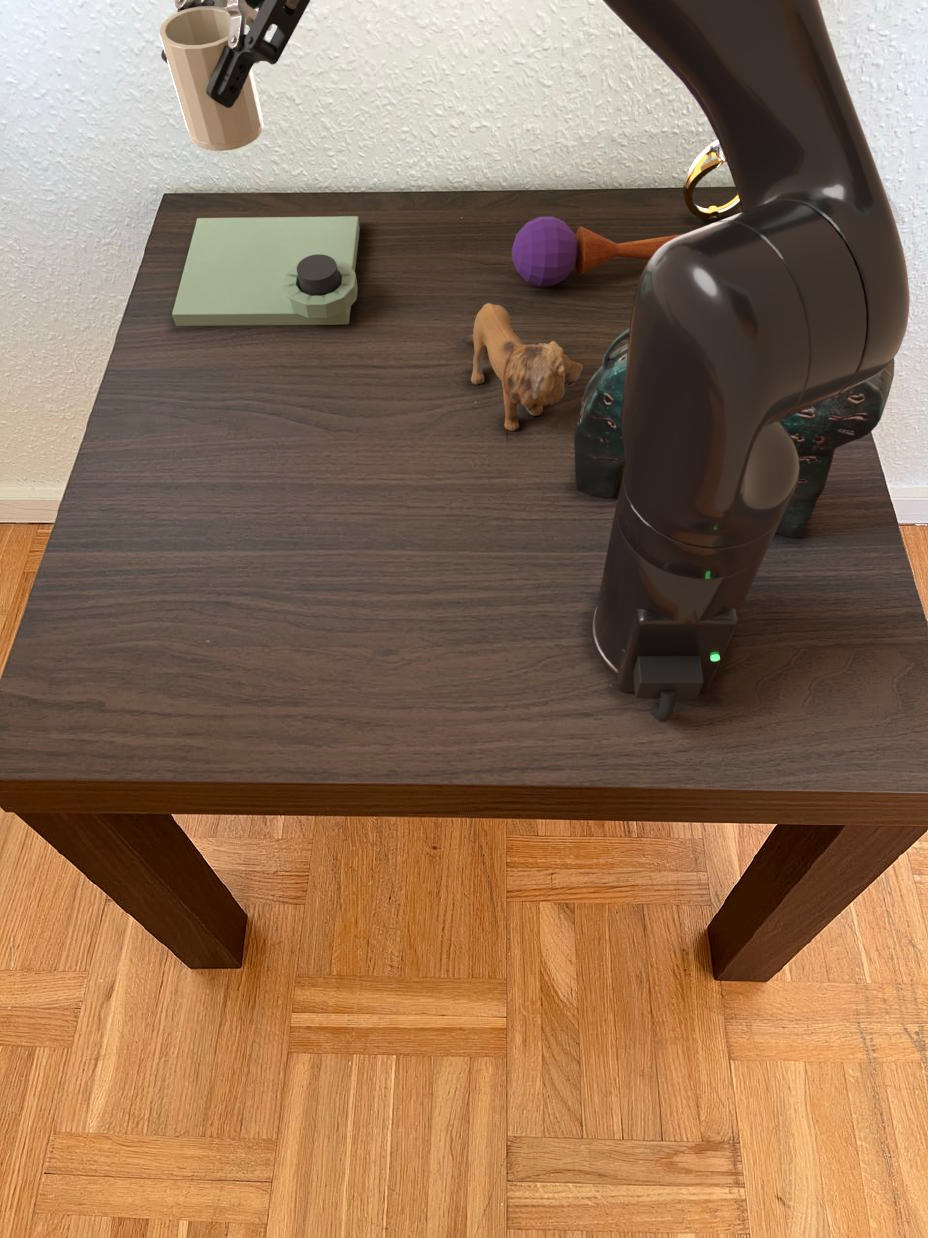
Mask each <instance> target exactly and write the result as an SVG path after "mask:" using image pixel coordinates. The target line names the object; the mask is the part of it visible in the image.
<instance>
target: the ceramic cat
mask: <svg viewBox="0 0 928 1238" xmlns="http://www.w3.org/2000/svg"><path fill="white" fill-rule="evenodd" d="M629 330H630V327H629V328H627V329H625V330H624V331H623V332H622V333H620V334H619V335H618V336H617V337H616V338H615V339H614V340H613V341H612V343H611V344H610V345H609V346H608V348H607V350H606V352H605V353H604V355H603V357H602V361H601V363H602V364H601V366H600V367H599V368H598V369H597V371H596V372H595V373H594V374H593V375H592V377H591V378H590V380H589V382H588V383H587V385H586V387H585V389H584V392H583V395H582V399H581V407H580V413H579V417H578V421H577V424H576V427H575V430H574V436H573V437H574V438H573V449H574V465H575V466H574V471H575V472H574V473H575V488H576V490H577V492H581V493H584V494H586V495H590V496H593V497H599V498H604V499H607V498H615V495H616V491H617V487H618V484H619V480H620V477H621V473H622V470H624V464H625V452H624V445H623V437H622V427H621V409H622V400H623V391H624V382H625V372H626V363H627V352H628V342H626V343H625V344H623V345H621V346H619V347H617V346H618V345H619V344H621V343H622V342H623V341H624V340H627V339H629ZM616 347H617V348H616ZM615 348H616V349H615ZM894 377H895V357H894V358H893V359H892V361H891V362H890V364H889V365H888V366H887V367H886V368H885V369H884V370H883V371H881V372H880V373H879V374H877V375H876V376H874V377H873V378H871V379H869V380H868V381H866V382H864V383H862V384H860V385H858V386H856V387H854V388H852V389H849V390H847V391H845V392H843V393H841V394H838V395H836V396H833V397H831V398H829V399H827V400H825V401H823V402H821V403H818V404H816V405H814V406H811V407H809V408H807V409H805V410H802V411H800V412H798V413H796V414H793V415H791V416H789V417H787V418H784V419H782V420H780V423H781V424H782V425H783V426H784V427H785V428H786V429H787V431H788V432H789V434H790V435H791V437H792V439H793V441H794V444H795V446H796V448H797V452H798V457H799V476H798V481H797V485H796V488H795V490H794V493H793V495H792V498H791V500H790V502H789V504H788V507H787V509H786V511H785V513H784V515H783V517H782V519H781V522H780V524H779V526H778V528H777V531H776V533H775V534H779V535H783V536H786V537H788V538H793V539H799V537H800V536H801V534H802V532H803V531H804V528H805V527H806V525H807V523H808V522H809V520H810V519H811V516H812V513H813V511H814V509H815V507H816V504H817V501H818V500H819V498H820V496H821V495H822V493H823V492H824V490H825V488H826V484H827V480H828V476H829V474H830V469H831V467H832V463H833V460H834V457H835V456H834V455H835V451H836V449H837V448H840V447H843V446H844V445H846V444H849V443H851V442H854V441H858V440H860V439H863V438H864V437H865V436H867V435H870V433H871V432H872V431H873V430H874V429H876V428H877V426H878V424H879V423H880V421H881V419H882V417H883V414H884V410H885V408H886V404H887V402H888V398H889V396H890V392H891V388H892V384H893V380H894Z"/></svg>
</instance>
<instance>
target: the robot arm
mask: <svg viewBox="0 0 928 1238" xmlns="http://www.w3.org/2000/svg"><path fill="white" fill-rule="evenodd" d="M600 1H601V2H602V3H603V4H604V6H605V7H606V8H607V9H608V10H609V11H610V12H611V13H612V14H613V15H614V16H615V17H616V18H617V19H618V20H619V22H621V23H622V24H623V25H624V26H625V27H626V28H627V29H628V30H629V31H630V32H631V33H632V34H633V35H634V36H635V37H636V38H638V39H639V40H640V41H641V42H642V43H643V44H644V46H646V47H647V48H648V49H649V50H650V51H651V52H652V53H653V54H655V56H656V57H657V58H659V59H660V61H662V63H664V64H665V66H666V67H667V68H668V69H669V70H670V71H671V72H672V74H673V75H675V77H677V79H678V80H679V81H680V82H681V83H682V84H683V85H684V86H685V88H686V89H687V90H688V92H689V93H690V94H691V96H692V97H693V98H694V100H695V101H696V102H697V104H698V105H699V107H700V109H701V110H702V112H703V114H704V115H705V117H706V118H707V120H708V122H709V125H710V127H711V129H712V131H713V133H714V135H715V137H716V140H718V141H719V144H720V146H721V149H722V151H723V154H724V156H725V159H726V161H727V162H726V164H727V167H728V169H729V172H730V175H731V178H732V181H733V183H734V187H735V189H736V193H737V195H738V197H739V200H740V203H741V206H740V207H741V211H742V212H739V213H736V214H734V215H731V216H729V217H726V218H723V219H720V220H718V221H717V220H716V221H715V222H712V223H709V224H707V225H704V226H702V227H699V228H696V229H693V230H691V231H689V232H686V233H682V234H683V235H681V236H678V237H676V238H674V239H672V240H670V241H668V242H667V243H665V244H663V245H662V246H661V247H660V248H659V249H658V250H657V251H656V252H655V253H654V254H653V255H652V257H651V258H650V260H648V261H647V263H646V265H645V266H644V269H643V271H642V272H641V275H640V278H639V281H638V284H637V286H636V290H635V294H634V298H633V302H632V307H631V313H630V323H629V328H630V330H629V337H628V341H627V343H628V352H627V363H626V372H625V382H624V391H623V400H622V409H621V427H622V437H623V445H624V452H625V464H624V468H623V469H622V475H621V480H620V485H619V491H618V496H617V501H616V505H615V511H614V516H613V520H612V526H611V531H610V536H609V541H608V547H607V552H606V557H605V562H604V568H603V574H602V578H601V583H600V587H599V593H598V599H597V605H596V608H595V610H594V613H593V618H592V623H591V638H592V644H593V647H594V651H595V652H596V655H597V657H598V658H599V660H600V662H601V663H602V665H603V666H604V667H605V668H606V669H607V670H608V671H609V672H610V673H611V674H612V676H614V677H615V678H616V681H617V688H618V691H619V692H622V693H634V696H635V697H634V698H635V699H636V700H637V699H639V700H640V699H641V700H643V699H644V700H645V699H646V700H647V699H648V700H649V699H650V700H651V699H655V700H659V702H655V703H653V704H652V705H650V708H649V712H650V715H652V717H653V718H654V720H656V721H657V722H659V723H666V722H668V721H669V720H671V718H672V717H673V714H674V710H675V705H676V699H679V700H684V699H685V700H693V699H694V700H696V699H697V698H698V696H699V694H700V693H707V692H708V690H709V688H710V686H711V684H712V682H713V679H714V678H715V675H716V673H717V670H718V668H719V667H720V665H721V662H722V660H723V657H724V655H725V653H726V651H727V649H728V646H729V644H730V642H731V640H732V638H733V636H734V634H735V631H736V629H737V626H738V623H739V618H738V617H739V614H740V612H741V610H742V608H743V605H744V604H745V601H746V598H747V596H748V594H749V593H750V591H751V590H750V589H751V588H752V585H753V583H754V581H755V579H756V577H757V575H758V572H759V570H760V567H761V566H762V563H763V561H764V559H765V557H766V554H767V552H768V550H769V548H770V545H771V543H772V541H773V539H774V537H775V535H776V534H777V533H776V531H777V528H778V526H779V524H780V522H781V519H782V517H783V515H784V513H785V511H786V509H787V507H788V504H789V502H790V500H791V498H792V495H793V493H794V490H795V488H796V485H797V481H798V476H799V457H798V452H797V448H796V446H795V444H794V441H793V439H792V437H791V435H790V434H789V432H788V431H787V429H786V428H785V427H784V426H783V425H782V424H781V423H780V420H782V419H784V418H787V417H789V416H791V415H793V414H796V413H798V412H800V411H802V410H805V409H807V408H809V407H811V406H814V405H816V404H818V403H821V402H823V401H825V400H827V399H829V398H831V397H833V396H836V395H838V394H841V393H843V392H845V391H847V390H849V389H852V388H854V387H856V386H858V385H860V384H862V383H864V382H866V381H868V380H869V379H871V378H873V377H874V376H876V375H877V374H879V373H880V372H881V371H883V370H884V369H885V368H886V367H887V366H888V365H889V364H890V362H891V361H892V359H893V358H894V359H895V357H896V355H897V354H898V352H899V350H900V349H901V346H902V344H903V341H904V338H905V336H906V332H907V329H908V321H909V315H910V314H909V313H910V303H911V302H910V299H911V298H910V284H909V275H908V274H909V273H908V267H907V263H906V257H905V252H904V248H903V243H902V240H901V237H900V233H899V229H898V225H897V222H896V219H895V217H894V213H893V210H892V207H891V204H890V201H889V198H888V196H887V193H886V190H885V187H884V184H883V181H882V179H881V176H880V173H879V171H878V168H877V165H876V162H875V159H874V156H873V154H872V151H871V148H870V145H869V143H868V140H867V137H866V134H865V132H864V130H863V127H862V124H861V120H860V118H859V115H858V113H857V109H856V107H855V105H854V102H853V99H852V97H851V94H850V91H849V89H848V86H847V83H846V80H845V77H844V74H843V71H842V69H841V66H840V63H839V60H838V57H837V54H836V51H835V48H834V45H833V42H832V39H831V36H830V34H829V30H828V27H827V24H826V20H825V17H824V14H823V10H822V7H821V3H820V0H600ZM310 2H311V0H203V1H202V0H174V5H175V6H174V7H175V8H176V9H177V12H180V11H182V10H185V9H189V8H194V7H198V6H199V7H200V6H217V7H222V8H227V10H228V13H229V14H230V17H231V21H230V28H229V36H228V46H229V47H230V48H231V49H230V48H228V47H226V46H224V49H223V51H222V54H221V56H220V58H219V60H218V63H217V65H216V67H215V70H214V72H213V74H212V77H211V79H210V81H209V84H208V86H207V89H206V93H207V95H208V96H209V97H210V98H211V99H213V100H214V101H216V102H218V103H219V104H221V105H223V106H225V107H227V108H231V107H232V106H233V105H234V103H235V101H236V100H237V99H238V97H239V95H240V92H241V90H242V88H243V85H244V83H245V81H246V79H247V77H248V74H249V72H250V70H251V68H252V69H253V66H254V64H255V65H257V64H259V63H260V62H267V63H268V64H269V65H272V66H274V65H276V64H277V63H278V61H280V58H281V56H282V54H283V52H284V50H285V48H286V47H287V45H288V43H289V41H290V39H291V37H292V35H293V34H294V32H295V30H296V28H297V27H298V24H299V23H300V20H301V19H302V17H303V15H304V13H305V11H306V10H307V8H308V7H309V4H310ZM177 12H176V13H177ZM273 25H275V26H276V29H275V31H274V33H273V35H272V37H271V39H270V41H268V40H267V39H266V34H267V33H268V31H269V32H270V31H271V30H272V28H273ZM246 27H248V28H249V29H248V32H247V33H246ZM245 33H246V34H245ZM160 56H161V59H162V61H164V62H165V63H166V64H167V65H168V62H167V59H166V55H165V52H164V48H163V47H162V50H161V54H160Z"/></svg>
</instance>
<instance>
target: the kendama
mask: <svg viewBox="0 0 928 1238" xmlns="http://www.w3.org/2000/svg"><path fill="white" fill-rule="evenodd" d="M683 234H684V233H682V234H673V235H667V236H661V237H653V238H647V239H641V240H633V241H626V242H621V243H616V242H614V241H613V240H610V239H608V238H606V237H604V236H602V235H599V234H598V233H596V232H594V231H591V230H589V229H587V228H585V227H583V226H579V227H578V228H577V230H576V233H575V232H574V231H573V230H572V229H571V228H570V227H569V226H568V224H567V223H566V222H565V221H563V220H561V219H559V218H557V217H555V216H553V215H552V216H538V217H535V218H533V219H532V220H530V221H528V222H526V223H525V224H524V226H522V227H521V229H520V230H519V231H518V232H517V233H516V235H515V238H514V240H513V244H512V247H511V258H512V261H513V264H514V267H515V271H516V273H518V275H520V276H521V278H522V279H523V280H524V281H525V282H526V283H529V284H531V285H533V286H535V287H539V288H540V287H541V288H543V287H552V286H554V285H557V284H559V283H561V282H563V281H564V280H566V279H567V278H568V277H569V275H571V273H572V272H574V270H575V271H576V274H577V275H578V276H582V275H583V274H585V273H587V272H588V271H591V270H593V269H595V268H597V267H599V266H601V265H603V264H604V263H607V262H608V261H611V260H612V259H614V258H616V257H618V258H628V259H637V260H647V261H649V260H650V258H651V257H652V255H653V254H654V253H655V252H656V251H657V250H658V249H659V248H660V247H661V246H662V245H663V244H665V243H667V242H668V241H670V240H672V239H674V238H676V237H678V236H681V235H683ZM574 268H575V269H574Z"/></svg>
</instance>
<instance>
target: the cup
mask: <svg viewBox="0 0 928 1238" xmlns="http://www.w3.org/2000/svg"><path fill="white" fill-rule="evenodd" d="M230 21H231V17H230V14H229V13H228V10H227V7H225V8H223V7H217V6H200V7H199V6H198V7H194V8H189V9H185V10H182V11H180V12H175V13H172V15H170V16H168V17H167V18H166V19H165V20H164V21H163V22H162V23H161V25H160V27H159V30H158V34H159V38H160V41H161V44H162V49H163V48H164V52H165V55H166V59H167V62H168V64H167V65H168V69H169V72H170V77H171V79H172V82H173V86H174V89H175V92H176V96H177V99H178V103H179V106H180V110H181V113H182V116H183V120H184V124H185V127H186V129H187V132H188V135H189V138H190V140H191V141H192V143H193V144H195V145H196V146H197V147H199V148H201V149H204V150H208V151H214V152H226V151H232V150H238V149H240V148H243V147H246V146H248V145H249V144H251V143H253V142H254V141H256V140H257V139H258V138H259V137H260V136H261V134H262V132H263V131H264V120H263V117H264V116H263V112H262V108H261V104H260V97H259V92H258V89H257V84H256V80H255V76H254V72H253V70H254V69H253V67H252V68H251V70H250V72H249V74H248V77H247V79H246V81H245V83H244V85H243V88H242V90H241V92H240V95H239V97H238V99H237V100H236V101H235V103H234V105H233V106H232V107H231V108H227V107H225V106H223V105H221V104H219V103H218V102H216V101H214V100H213V99H211V98H210V97H209V96H208V95H207V93H206V89H207V86H208V84H209V81H210V79H211V77H212V74H213V72H214V70H215V67H216V65H217V63H218V60H219V58H220V56H221V54H222V51H223V49H224V46H226V47H228V48H230V47H229V46H228V36H229V28H230ZM230 49H231V48H230Z"/></svg>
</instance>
